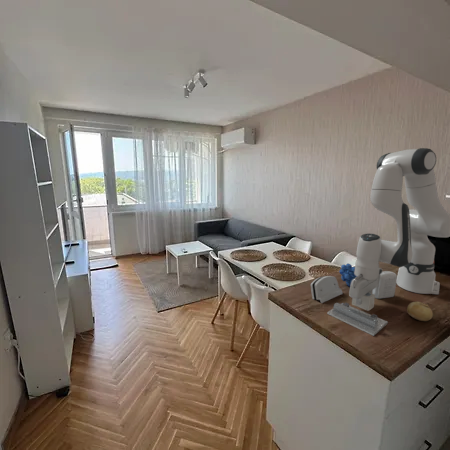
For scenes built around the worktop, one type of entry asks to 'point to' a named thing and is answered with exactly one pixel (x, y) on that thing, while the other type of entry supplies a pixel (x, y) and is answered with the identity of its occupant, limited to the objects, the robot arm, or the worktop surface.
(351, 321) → the rail base
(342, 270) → the grapes
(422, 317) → the onion
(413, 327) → the worktop surface
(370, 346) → the worktop surface
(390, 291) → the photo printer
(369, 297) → the block
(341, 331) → the worktop surface
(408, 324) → the worktop surface
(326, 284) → the white toaster
